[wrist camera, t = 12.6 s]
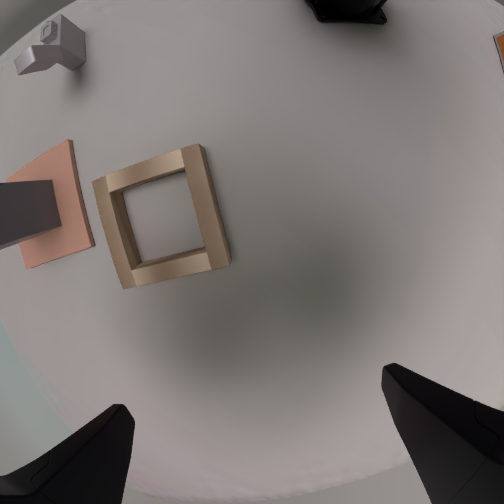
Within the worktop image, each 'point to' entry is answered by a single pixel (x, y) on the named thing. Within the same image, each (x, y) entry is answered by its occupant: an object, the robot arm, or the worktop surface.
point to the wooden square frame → (120, 229)
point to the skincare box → (500, 45)
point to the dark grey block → (27, 211)
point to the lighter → (54, 48)
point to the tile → (69, 206)
